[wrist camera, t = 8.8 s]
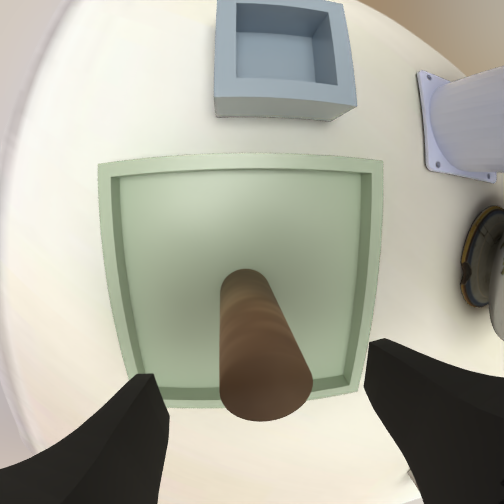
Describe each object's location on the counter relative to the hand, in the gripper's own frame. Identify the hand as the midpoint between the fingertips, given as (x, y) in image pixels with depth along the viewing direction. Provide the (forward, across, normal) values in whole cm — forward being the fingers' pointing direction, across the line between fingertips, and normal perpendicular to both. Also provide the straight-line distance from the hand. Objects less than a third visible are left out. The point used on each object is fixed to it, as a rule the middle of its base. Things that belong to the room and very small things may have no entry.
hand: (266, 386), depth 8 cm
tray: (+9, 0, 0) cm, 9 cm away
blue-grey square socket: (+9, -3, -14) cm, 17 cm away
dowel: (+9, 0, 0) cm, 9 cm away
